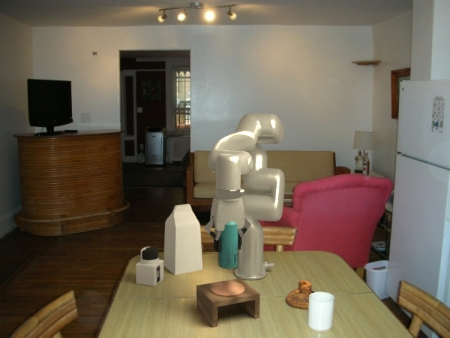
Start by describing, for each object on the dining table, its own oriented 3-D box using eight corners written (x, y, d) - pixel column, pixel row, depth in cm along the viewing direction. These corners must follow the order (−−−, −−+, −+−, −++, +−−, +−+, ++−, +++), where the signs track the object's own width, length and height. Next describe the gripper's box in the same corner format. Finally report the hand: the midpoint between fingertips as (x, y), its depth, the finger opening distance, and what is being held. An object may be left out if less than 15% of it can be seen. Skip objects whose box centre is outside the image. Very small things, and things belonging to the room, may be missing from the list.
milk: (175, 275, 186) (174, 209, 182) (163, 265, 195) (162, 203, 191) (202, 269, 192) (202, 206, 187) (190, 260, 201) (189, 200, 197)
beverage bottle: (236, 274, 148) (237, 211, 144) (215, 272, 149) (215, 210, 146) (239, 266, 154) (240, 206, 151) (219, 265, 155) (220, 205, 152)
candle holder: (320, 312, 155) (321, 291, 154) (283, 307, 158) (284, 287, 157) (322, 297, 166) (323, 277, 165) (288, 293, 169) (289, 274, 168)
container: (164, 279, 181) (163, 246, 179) (154, 286, 174) (154, 252, 172) (146, 276, 184) (145, 244, 182) (135, 284, 177) (135, 250, 175)
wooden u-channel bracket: (240, 300, 163) (240, 276, 162) (259, 317, 151) (260, 292, 149) (196, 308, 157) (196, 283, 156) (212, 327, 144) (212, 300, 143)
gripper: (247, 189, 154) (247, 243, 157) (197, 193, 147) (197, 249, 150) (258, 194, 148) (257, 250, 150) (206, 198, 141) (206, 257, 143)
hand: (227, 249), depth 150 cm, fingers closed on beverage bottle, 6 cm apart
